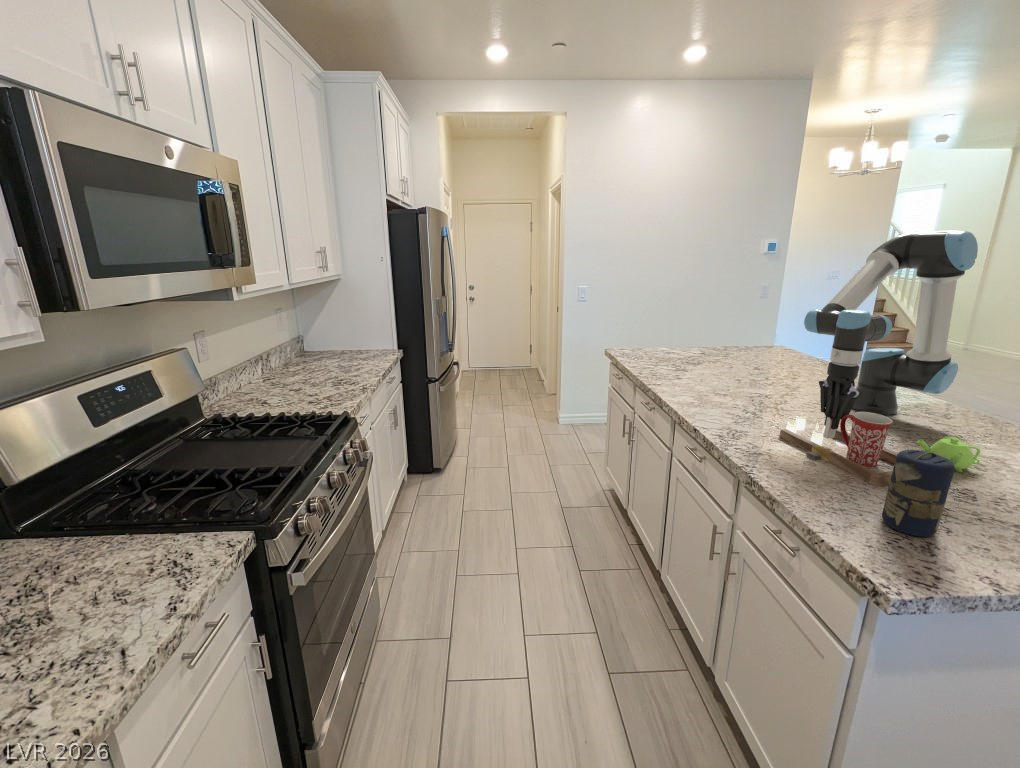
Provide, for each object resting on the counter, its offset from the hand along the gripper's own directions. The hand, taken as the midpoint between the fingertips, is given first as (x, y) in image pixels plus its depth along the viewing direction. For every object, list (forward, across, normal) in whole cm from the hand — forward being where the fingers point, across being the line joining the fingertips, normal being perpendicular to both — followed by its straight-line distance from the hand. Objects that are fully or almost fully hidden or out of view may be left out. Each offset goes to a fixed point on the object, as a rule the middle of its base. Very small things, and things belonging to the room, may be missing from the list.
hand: (828, 437), depth 146 cm
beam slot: (+3, +6, +1) cm, 7 cm away
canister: (+3, +42, -19) cm, 46 cm away
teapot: (+3, +18, +21) cm, 28 cm away
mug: (+3, +10, 0) cm, 10 cm away
